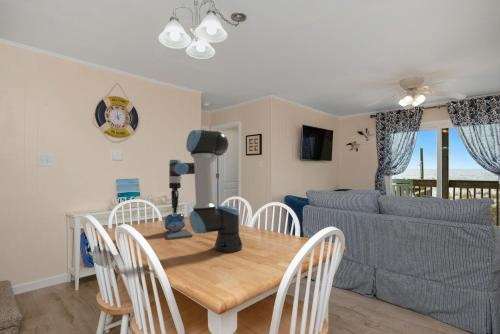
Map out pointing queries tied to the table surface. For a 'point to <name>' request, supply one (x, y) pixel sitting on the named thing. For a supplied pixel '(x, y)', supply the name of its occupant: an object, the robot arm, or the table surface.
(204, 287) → the table surface
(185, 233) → the mat
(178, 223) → the alarm clock
